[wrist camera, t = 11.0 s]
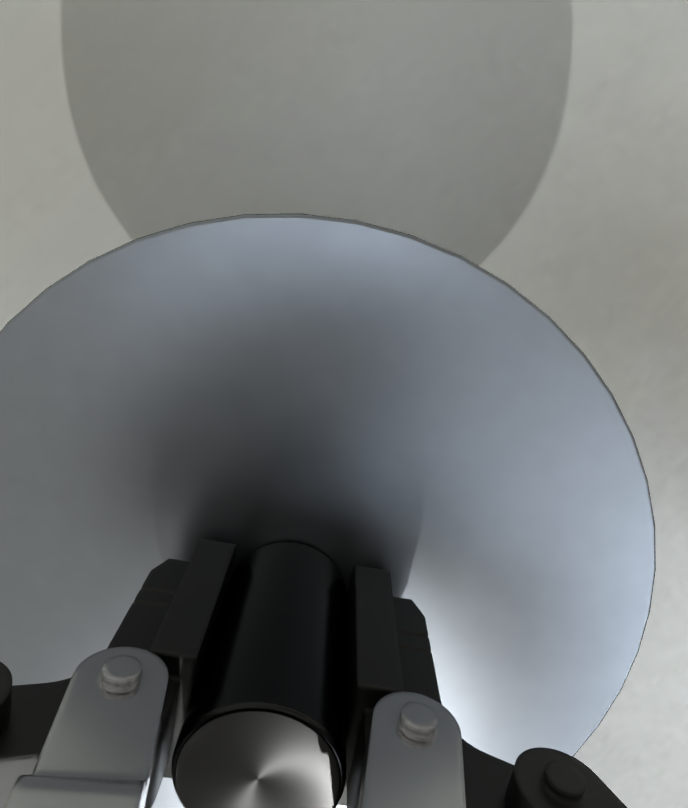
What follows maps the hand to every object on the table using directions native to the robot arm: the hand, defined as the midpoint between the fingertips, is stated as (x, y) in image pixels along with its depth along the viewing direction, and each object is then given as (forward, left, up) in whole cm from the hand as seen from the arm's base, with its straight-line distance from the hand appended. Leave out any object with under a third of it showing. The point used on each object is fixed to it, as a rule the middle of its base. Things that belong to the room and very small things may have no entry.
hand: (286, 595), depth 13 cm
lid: (0, 0, -1) cm, 1 cm away
